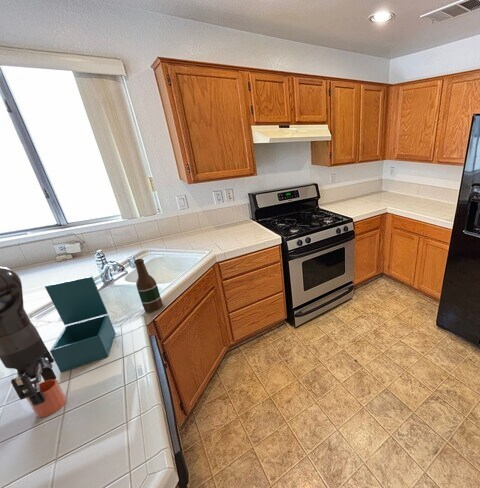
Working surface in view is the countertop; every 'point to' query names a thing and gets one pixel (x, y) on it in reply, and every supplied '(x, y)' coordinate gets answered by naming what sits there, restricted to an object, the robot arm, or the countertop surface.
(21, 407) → the countertop surface
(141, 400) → the countertop surface
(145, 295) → the beer bottle
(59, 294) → the lid
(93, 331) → the box
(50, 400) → the cup
